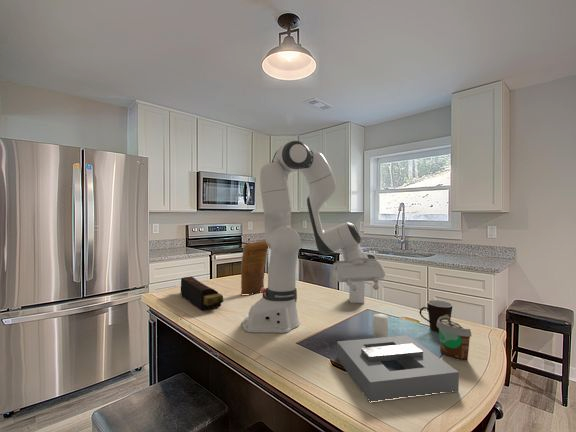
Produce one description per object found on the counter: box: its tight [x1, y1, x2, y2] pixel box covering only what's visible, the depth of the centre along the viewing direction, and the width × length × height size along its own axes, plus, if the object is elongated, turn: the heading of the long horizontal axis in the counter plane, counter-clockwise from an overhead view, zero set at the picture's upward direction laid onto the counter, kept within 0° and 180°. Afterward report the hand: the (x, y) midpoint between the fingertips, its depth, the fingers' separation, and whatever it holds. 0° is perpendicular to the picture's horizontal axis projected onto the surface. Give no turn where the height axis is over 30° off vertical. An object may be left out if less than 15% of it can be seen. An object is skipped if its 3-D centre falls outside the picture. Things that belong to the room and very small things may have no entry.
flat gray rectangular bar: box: [361, 344, 423, 362], centre depth 83 cm, size 16×5×2 cm, turn 101°
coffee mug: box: [418, 299, 454, 333], centre depth 114 cm, size 12×9×10 cm
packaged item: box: [180, 276, 224, 311], centre depth 147 cm, size 39×10×10 cm, turn 36°
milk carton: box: [348, 281, 366, 304], centre depth 148 cm, size 7×7×19 cm
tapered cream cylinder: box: [372, 313, 389, 338], centre depth 105 cm, size 5×5×8 cm
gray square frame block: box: [336, 335, 460, 403], centre depth 83 cm, size 24×22×5 cm
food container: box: [437, 316, 472, 361], centre depth 95 cm, size 12×6×10 cm, turn 5°
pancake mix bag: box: [240, 240, 269, 295], centre depth 161 cm, size 7×19×28 cm, turn 136°
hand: (365, 289), depth 117 cm, fingers open, 8 cm apart
